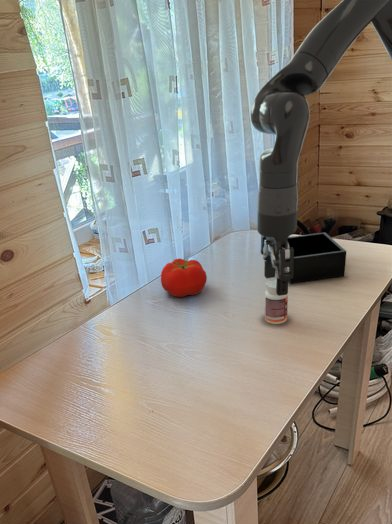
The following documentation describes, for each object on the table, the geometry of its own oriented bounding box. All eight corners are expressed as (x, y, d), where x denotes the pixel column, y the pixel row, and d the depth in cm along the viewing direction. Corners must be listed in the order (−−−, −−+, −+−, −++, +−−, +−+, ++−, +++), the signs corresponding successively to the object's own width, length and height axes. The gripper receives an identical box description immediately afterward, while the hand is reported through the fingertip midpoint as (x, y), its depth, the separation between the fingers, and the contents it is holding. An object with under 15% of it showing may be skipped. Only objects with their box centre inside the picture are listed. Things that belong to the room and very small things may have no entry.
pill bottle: (290, 322, 108) (291, 286, 104) (268, 326, 108) (268, 290, 103) (283, 312, 112) (284, 277, 108) (262, 315, 112) (262, 280, 107)
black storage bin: (323, 256, 136) (325, 232, 133) (344, 276, 125) (346, 251, 121) (273, 262, 135) (274, 238, 131) (290, 284, 124) (291, 258, 120)
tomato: (212, 297, 121) (210, 268, 116) (166, 305, 119) (162, 275, 115) (201, 279, 129) (199, 251, 125) (159, 286, 128) (155, 258, 124)
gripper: (309, 217, 91) (304, 298, 100) (284, 195, 103) (282, 269, 112) (268, 221, 91) (267, 303, 99) (248, 199, 103) (249, 274, 111)
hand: (275, 285), depth 106 cm, fingers open, 8 cm apart
